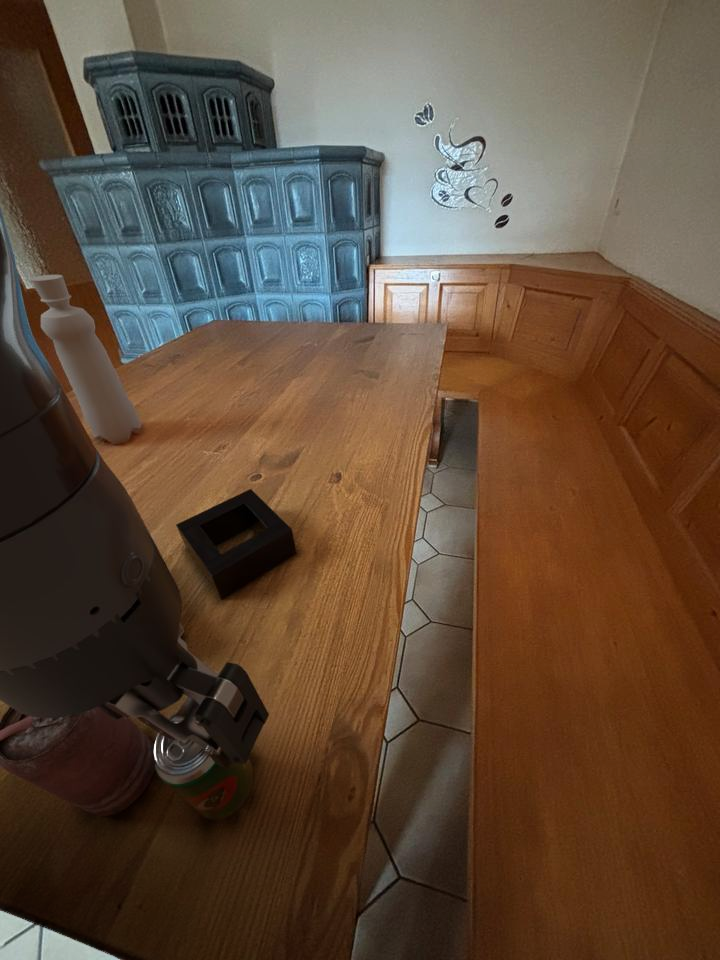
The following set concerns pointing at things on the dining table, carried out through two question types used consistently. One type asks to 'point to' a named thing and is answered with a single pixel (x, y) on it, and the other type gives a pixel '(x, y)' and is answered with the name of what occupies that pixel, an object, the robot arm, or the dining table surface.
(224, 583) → the holder
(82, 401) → the bottle
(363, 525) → the dining table surface
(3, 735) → the can
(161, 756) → the soda can
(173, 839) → the dining table surface
